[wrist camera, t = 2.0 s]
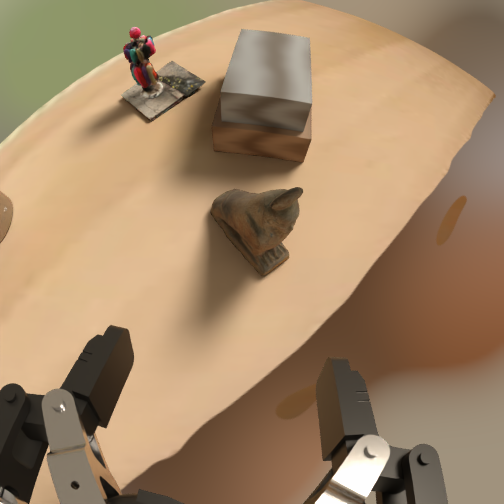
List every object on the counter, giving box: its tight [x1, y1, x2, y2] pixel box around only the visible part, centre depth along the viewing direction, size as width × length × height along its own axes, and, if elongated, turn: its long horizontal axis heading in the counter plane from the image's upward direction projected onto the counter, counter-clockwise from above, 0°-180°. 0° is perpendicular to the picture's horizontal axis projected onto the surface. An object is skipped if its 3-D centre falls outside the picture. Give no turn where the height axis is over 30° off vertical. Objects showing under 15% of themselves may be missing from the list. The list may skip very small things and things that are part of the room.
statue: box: [121, 27, 205, 122], centre depth 34 cm, size 11×9×15 cm
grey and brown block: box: [212, 29, 312, 162], centre depth 35 cm, size 12×18×10 cm, turn 173°
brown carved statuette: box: [211, 187, 303, 277], centre depth 27 cm, size 11×5×16 cm, turn 33°
